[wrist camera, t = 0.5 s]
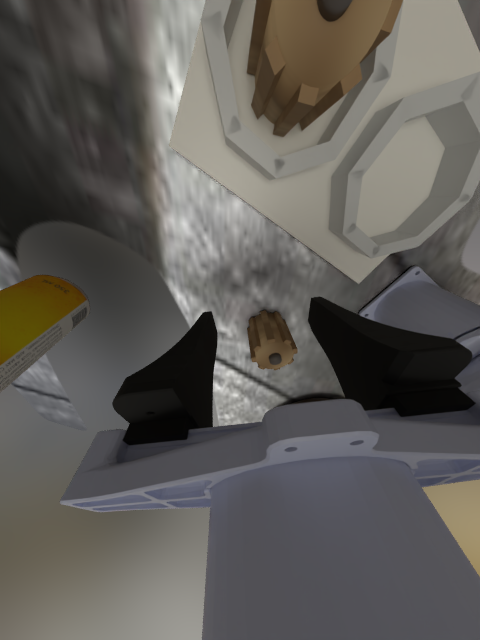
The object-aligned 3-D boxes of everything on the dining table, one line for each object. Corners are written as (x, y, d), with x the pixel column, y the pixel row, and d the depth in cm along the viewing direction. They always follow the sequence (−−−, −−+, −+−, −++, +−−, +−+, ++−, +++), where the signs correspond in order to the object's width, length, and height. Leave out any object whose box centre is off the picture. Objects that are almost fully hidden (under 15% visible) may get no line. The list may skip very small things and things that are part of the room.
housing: (490, 139, 14) (566, 124, 11) (351, 278, 21) (372, 294, 18) (287, -270, 7) (339, -676, 4) (174, 149, 14) (157, 137, 11)
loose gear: (292, 319, 25) (309, 354, 19) (269, 343, 27) (279, 380, 22) (261, 303, 23) (271, 337, 17) (240, 330, 25) (243, 367, 20)
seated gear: (349, 11, 10) (494, -204, 4) (312, 144, 13) (370, 112, 8) (256, -22, 9) (295, -325, 4) (240, 127, 12) (249, 78, 7)
